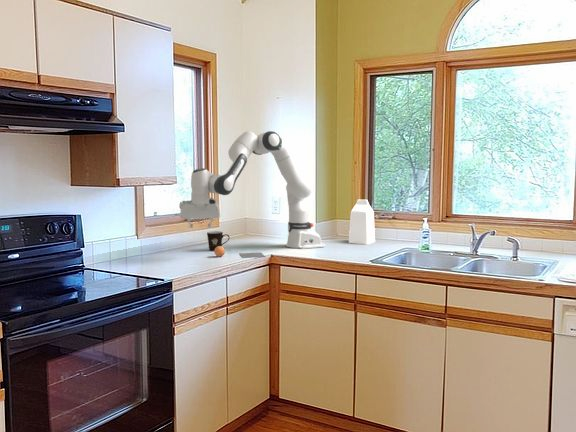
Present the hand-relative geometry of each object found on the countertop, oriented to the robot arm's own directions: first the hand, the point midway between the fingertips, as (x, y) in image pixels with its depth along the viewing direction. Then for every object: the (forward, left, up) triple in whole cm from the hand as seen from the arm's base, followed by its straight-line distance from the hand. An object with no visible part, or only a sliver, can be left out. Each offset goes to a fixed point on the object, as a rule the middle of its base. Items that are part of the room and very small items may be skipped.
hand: (200, 227), depth 281 cm
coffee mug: (-11, -20, -16) cm, 27 cm away
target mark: (-27, 0, -16) cm, 31 cm away
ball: (-10, 0, -13) cm, 16 cm away
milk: (-99, -27, -16) cm, 103 cm away
